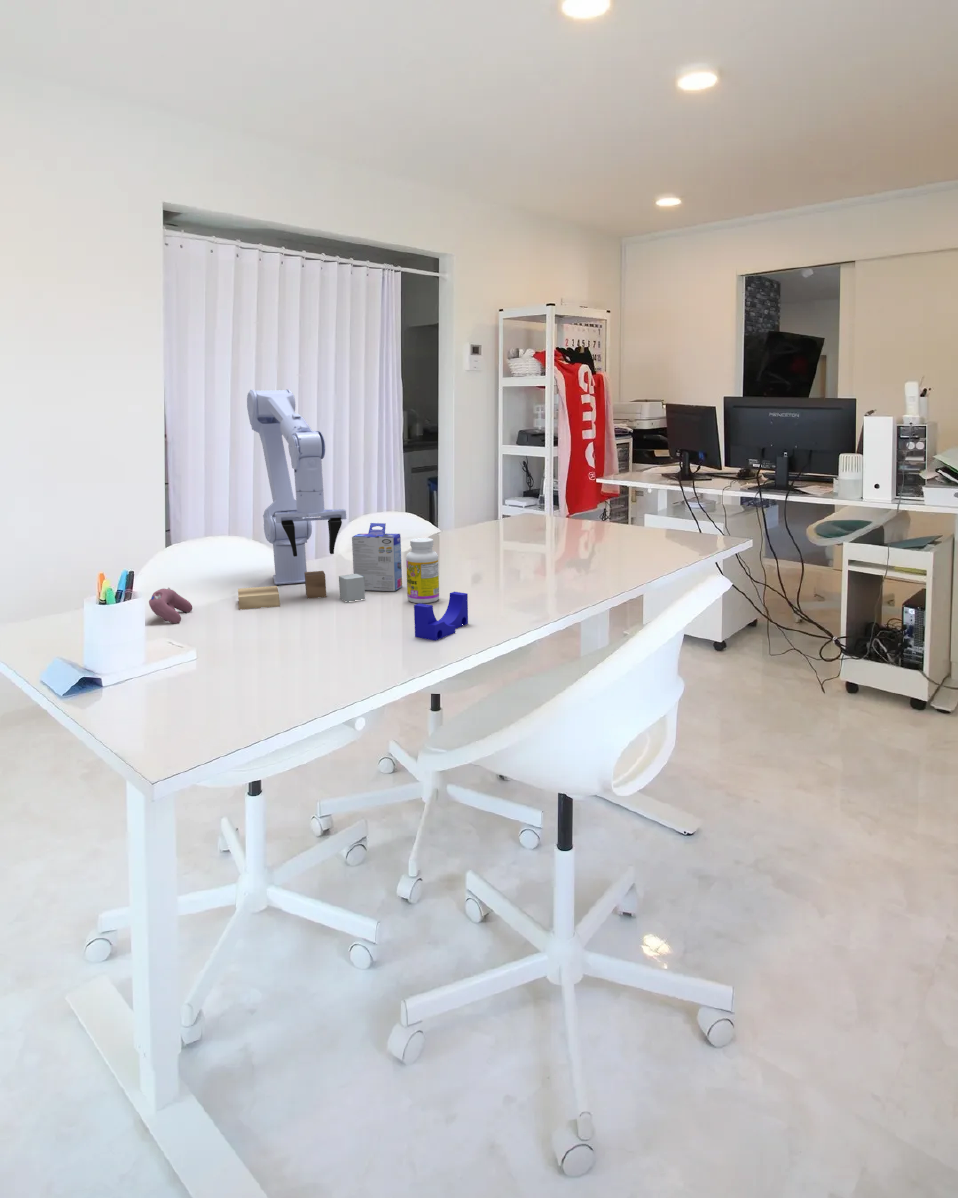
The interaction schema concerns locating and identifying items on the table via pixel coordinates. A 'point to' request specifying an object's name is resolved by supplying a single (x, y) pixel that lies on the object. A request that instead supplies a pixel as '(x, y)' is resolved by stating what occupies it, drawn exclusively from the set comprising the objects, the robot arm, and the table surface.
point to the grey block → (351, 587)
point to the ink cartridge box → (378, 559)
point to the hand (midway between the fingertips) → (313, 554)
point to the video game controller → (169, 605)
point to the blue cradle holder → (447, 624)
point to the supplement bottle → (422, 572)
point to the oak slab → (258, 597)
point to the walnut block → (315, 584)
